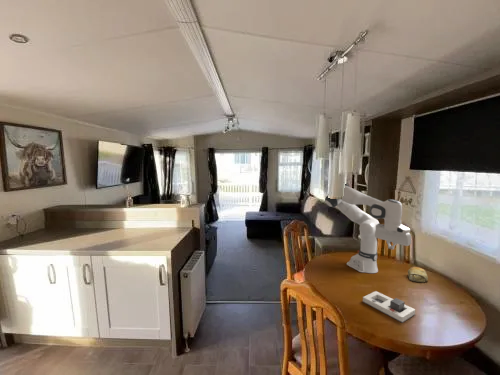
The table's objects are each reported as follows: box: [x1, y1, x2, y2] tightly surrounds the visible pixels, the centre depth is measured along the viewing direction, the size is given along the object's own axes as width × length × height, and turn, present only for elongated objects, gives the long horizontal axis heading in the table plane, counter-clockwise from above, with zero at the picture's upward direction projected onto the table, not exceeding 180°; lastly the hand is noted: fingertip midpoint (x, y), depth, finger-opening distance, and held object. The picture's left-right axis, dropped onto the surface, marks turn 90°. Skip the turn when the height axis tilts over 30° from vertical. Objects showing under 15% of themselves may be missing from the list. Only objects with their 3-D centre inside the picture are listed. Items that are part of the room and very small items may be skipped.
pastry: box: [407, 266, 429, 283], centre depth 171 cm, size 14×12×8 cm
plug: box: [390, 297, 406, 313], centre depth 131 cm, size 4×6×6 cm
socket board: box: [362, 290, 416, 324], centre depth 136 cm, size 22×13×4 cm, turn 31°
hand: (391, 248), depth 148 cm, fingers closed
